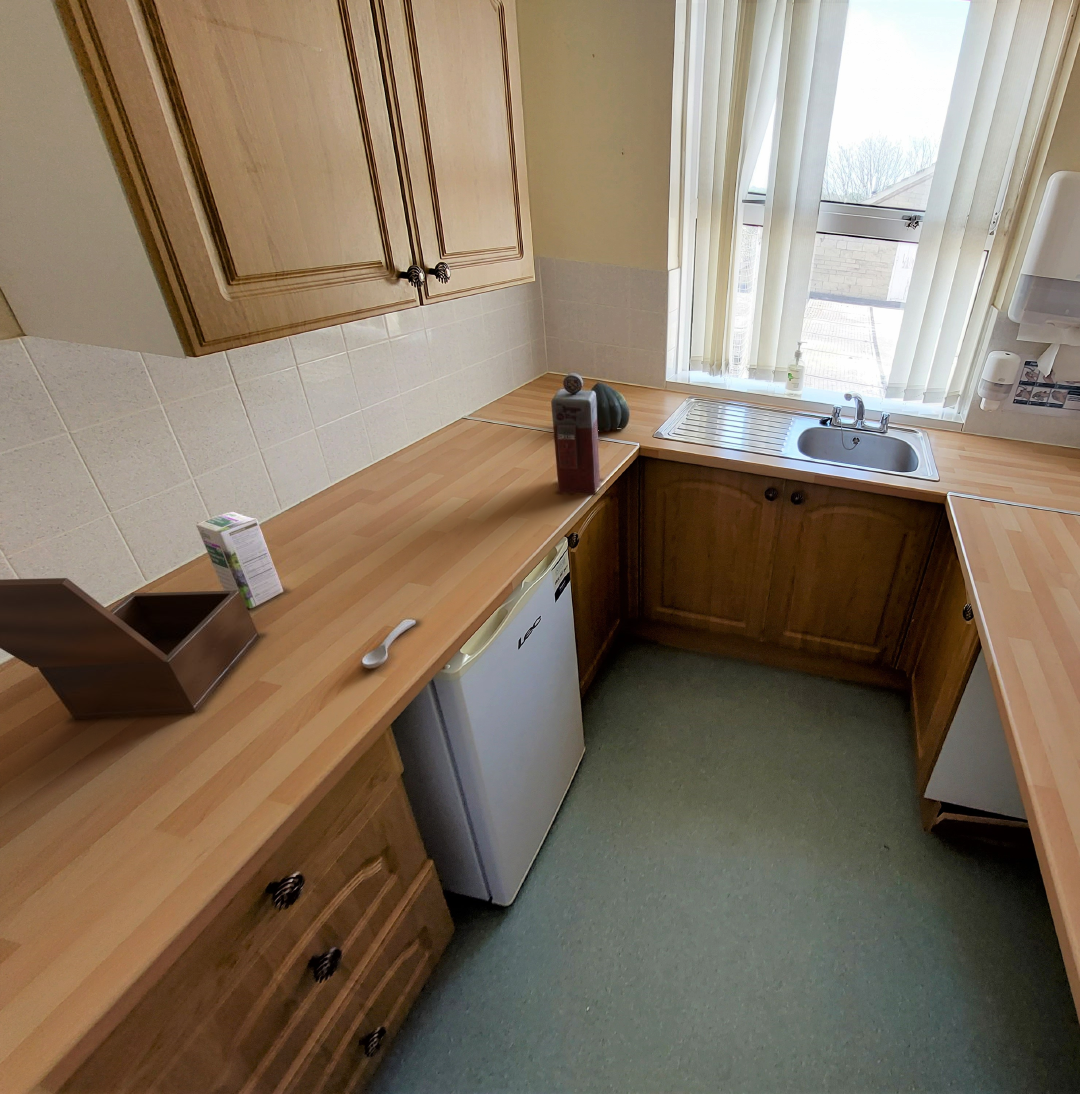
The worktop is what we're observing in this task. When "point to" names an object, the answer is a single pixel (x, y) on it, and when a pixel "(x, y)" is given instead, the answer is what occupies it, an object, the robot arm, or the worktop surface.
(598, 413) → the squash
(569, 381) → the vintage gas pump
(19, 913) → the worktop surface
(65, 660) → the lid
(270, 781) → the worktop surface
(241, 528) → the syrup box
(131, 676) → the walnut box
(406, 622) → the spoon
